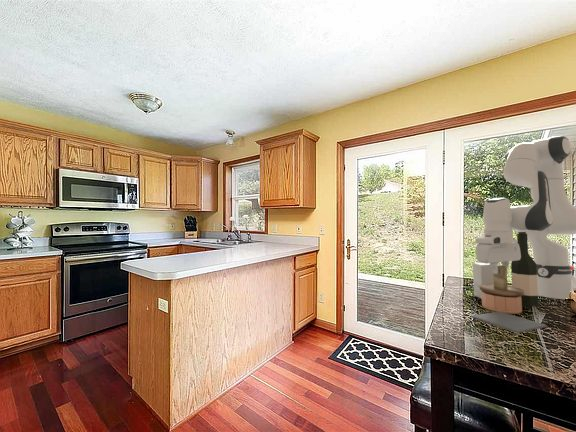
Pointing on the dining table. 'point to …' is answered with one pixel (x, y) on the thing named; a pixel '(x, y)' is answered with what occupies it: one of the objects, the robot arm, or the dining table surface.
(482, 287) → the lid
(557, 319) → the dining table surface
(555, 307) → the dining table surface
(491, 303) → the bowl
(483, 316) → the mat
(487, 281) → the skincare box
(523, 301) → the wine bottle
